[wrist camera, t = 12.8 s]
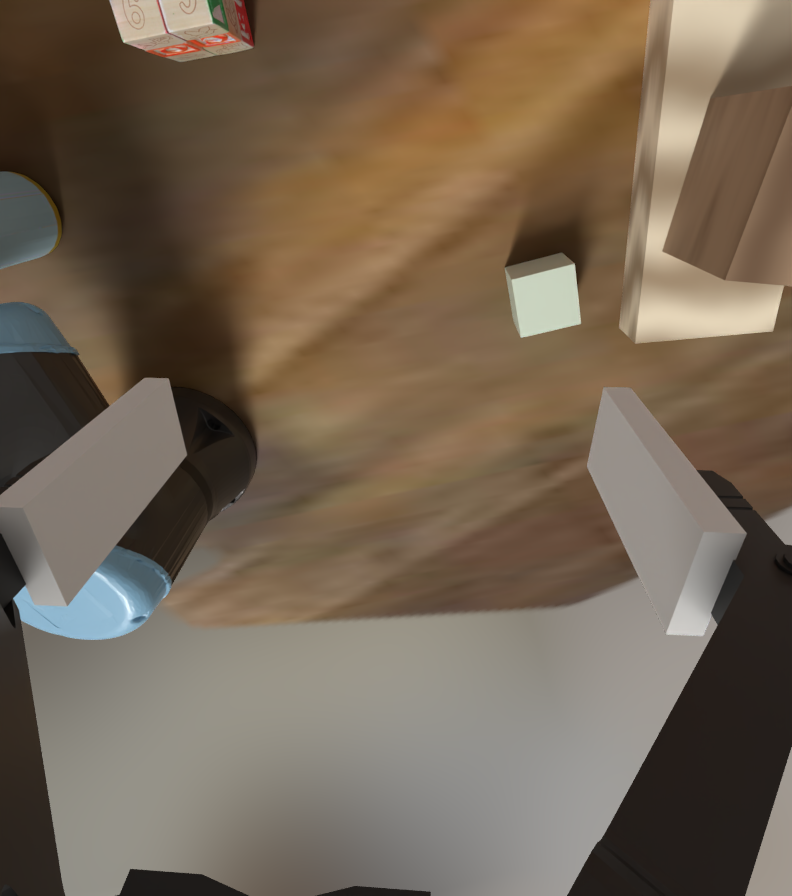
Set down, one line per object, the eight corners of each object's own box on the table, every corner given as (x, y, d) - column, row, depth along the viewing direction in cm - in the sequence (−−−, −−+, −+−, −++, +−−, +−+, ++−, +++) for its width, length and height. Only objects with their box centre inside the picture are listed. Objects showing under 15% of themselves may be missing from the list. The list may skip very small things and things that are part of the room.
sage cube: (567, 307, 48) (581, 323, 44) (513, 320, 49) (520, 337, 45) (561, 252, 46) (574, 263, 42) (504, 267, 47) (511, 279, 43)
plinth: (742, 314, 48) (772, 331, 44) (617, 325, 49) (635, 343, 45) (815, -30, 36) (866, -53, 32) (648, -3, 37) (676, -22, 33)
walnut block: (797, 105, 36) (915, 94, 27) (738, 258, 41) (822, 288, 32) (710, 98, 36) (799, 84, 27) (662, 251, 41) (724, 280, 32)
